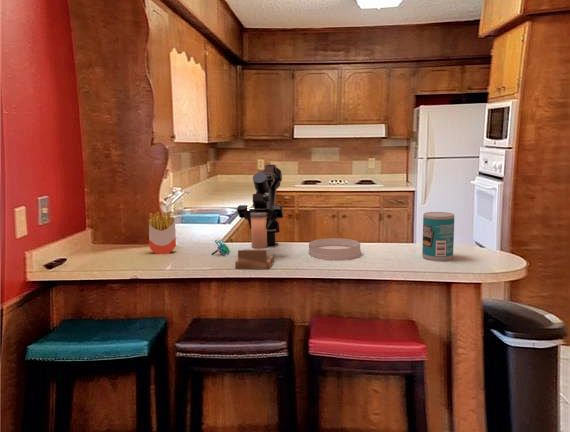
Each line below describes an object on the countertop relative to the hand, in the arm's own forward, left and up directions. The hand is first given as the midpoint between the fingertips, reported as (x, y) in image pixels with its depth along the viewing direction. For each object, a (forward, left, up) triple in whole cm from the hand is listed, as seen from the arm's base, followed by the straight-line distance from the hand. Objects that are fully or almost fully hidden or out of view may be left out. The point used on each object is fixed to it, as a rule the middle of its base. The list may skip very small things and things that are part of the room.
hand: (258, 228), depth 213 cm
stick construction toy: (-5, -20, -13) cm, 24 cm away
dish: (-16, +28, -14) cm, 35 cm away
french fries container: (-2, -46, -13) cm, 48 cm away
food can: (-19, +70, -13) cm, 74 cm away
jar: (-1, 0, -8) cm, 8 cm away
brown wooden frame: (+9, +1, -13) cm, 16 cm away
